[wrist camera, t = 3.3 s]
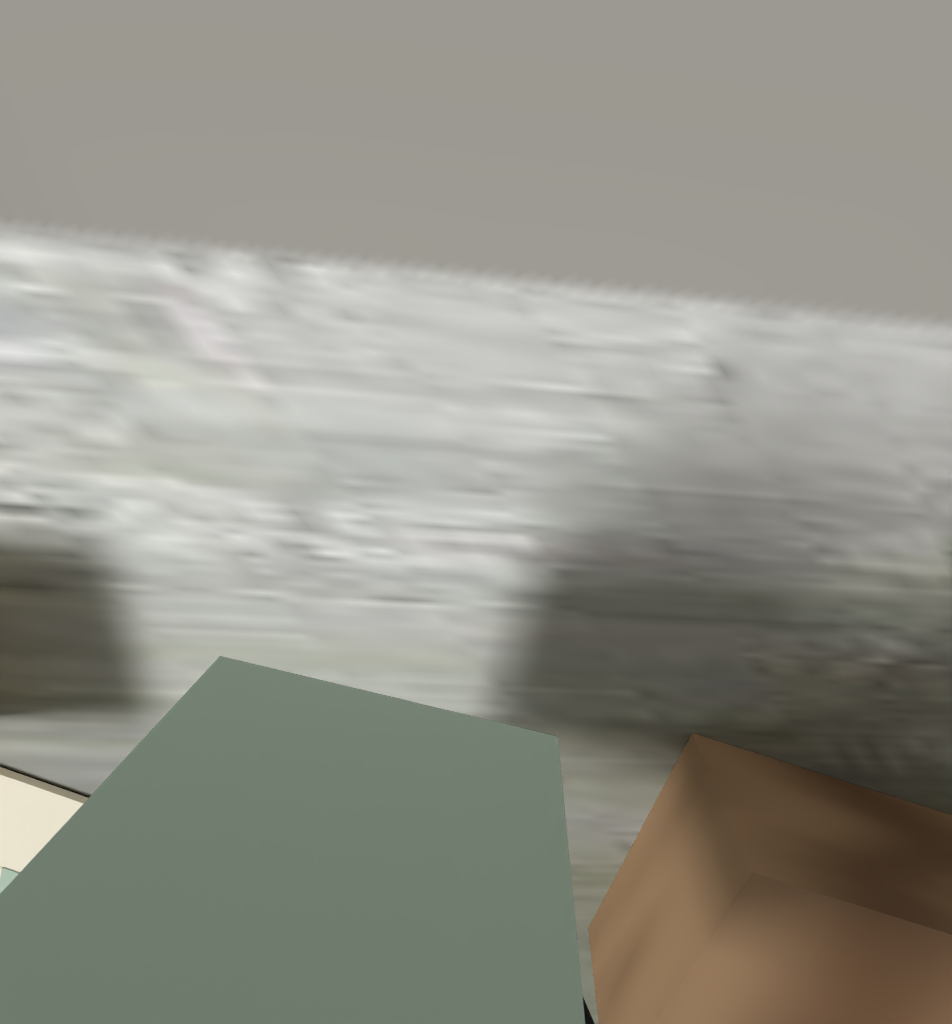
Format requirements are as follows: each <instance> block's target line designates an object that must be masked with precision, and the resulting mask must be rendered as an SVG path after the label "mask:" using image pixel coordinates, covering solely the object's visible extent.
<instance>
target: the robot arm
mask: <svg viewBox="0 0 952 1024" xmlns="http://www.w3.org/2000/svg"><path fill="white" fill-rule="evenodd" d="M583 1006H584V1016H585V1024H594V1022H593V1019H592V1017H591V1014H590V1012H589V1010H588V1007H587V1005H586V1003H585V1000H584V998H583Z"/></svg>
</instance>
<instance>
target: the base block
mask: <svg viewBox="0 0 952 1024" xmlns="http://www.w3.org/2000/svg"><path fill="white" fill-rule="evenodd" d="M588 931H589V940H590V949H591V958H592V966H593V975H594V984H595V993H596V1001H597V1010H598V1019H599V1024H952V815H950V814H946V813H943V812H940V811H937V810H934V809H931V808H927V807H924V806H921V805H918V804H915V803H912V802H909V801H905V800H902V799H899V798H896V797H893V796H890V795H886V794H883V793H880V792H877V791H874V790H871V789H868V788H864V787H861V786H858V785H855V784H852V783H849V782H845V781H842V780H839V779H836V778H833V777H830V776H827V775H823V774H820V773H817V772H814V771H811V770H808V769H805V768H801V767H798V766H795V765H792V764H789V763H786V762H782V761H779V760H776V759H773V758H770V757H767V756H764V755H760V754H757V753H754V752H751V751H748V750H745V749H741V748H738V747H735V746H732V745H729V744H726V743H723V742H719V741H716V740H713V739H710V738H707V737H704V736H700V735H697V734H694V733H692V734H691V736H690V738H689V740H688V742H687V743H686V745H685V747H684V749H683V751H682V753H681V755H680V757H679V759H678V760H677V762H676V764H675V766H674V768H673V770H672V772H671V774H670V775H669V777H668V779H667V781H666V783H665V785H664V787H663V789H662V791H661V792H660V794H659V796H658V798H657V800H656V802H655V804H654V806H653V807H652V809H651V811H650V813H649V815H648V817H647V819H646V821H645V822H644V824H643V826H642V828H641V830H640V832H639V834H638V836H637V838H636V839H635V841H634V843H633V845H632V847H631V849H630V851H629V853H628V854H627V856H626V858H625V860H624V862H623V864H622V866H621V868H620V870H619V871H618V873H617V875H616V877H615V879H614V881H613V883H612V885H611V886H610V888H609V890H608V892H607V894H606V896H605V898H604V900H603V901H602V903H601V905H600V907H599V909H598V911H597V913H596V915H595V917H594V918H593V920H592V922H591V924H590V926H589V928H588Z"/></svg>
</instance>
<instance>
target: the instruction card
mask: <svg viewBox="0 0 952 1024" xmlns="http://www.w3.org/2000/svg"><path fill="white" fill-rule="evenodd" d="M87 799H88V798H87V797H85V796H82V795H79V794H76V793H73V792H70V791H67V790H65V789H62V788H59V787H56V786H53V785H50V784H47V783H45V782H42V781H39V780H36V779H33V778H30V777H27V776H25V775H22V774H19V773H16V772H13V771H10V770H8V769H5V768H2V767H0V893H1V892H2V891H3V890H4V889H5V888H6V887H7V886H8V885H9V884H10V883H11V882H12V881H13V879H14V878H15V877H16V876H17V875H18V874H19V873H20V872H21V871H22V870H23V869H24V868H25V866H26V865H27V864H28V863H29V862H30V861H31V860H32V859H33V858H34V857H35V856H36V855H37V853H38V852H39V851H40V850H41V849H42V848H43V847H44V846H45V845H46V844H47V843H48V842H49V841H50V839H51V838H52V837H53V836H54V835H55V834H56V833H57V832H58V831H59V830H60V829H61V828H62V826H63V825H64V824H65V823H66V822H67V821H68V820H69V819H70V818H71V817H72V816H73V815H74V814H75V812H76V811H77V810H78V809H79V808H80V807H81V806H82V805H83V804H84V803H85V802H86V801H87Z"/></svg>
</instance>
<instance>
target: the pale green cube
mask: <svg viewBox="0 0 952 1024" xmlns="http://www.w3.org/2000/svg"><path fill="white" fill-rule="evenodd" d="M0 1024H585V1016H584V1006H583V995H582V985H581V974H580V964H579V953H578V943H577V932H576V922H575V911H574V901H573V890H572V880H571V870H570V859H569V849H568V838H567V828H566V817H565V807H564V796H563V786H562V775H561V765H560V754H559V744H558V736H554V735H549V734H545V733H541V732H537V731H533V730H528V729H524V728H520V727H516V726H512V725H507V724H503V723H499V722H495V721H491V720H486V719H482V718H478V717H474V716H470V715H465V714H461V713H457V712H453V711H449V710H444V709H440V708H436V707H432V706H428V705H423V704H419V703H415V702H411V701H407V700H402V699H398V698H394V697H390V696H386V695H381V694H377V693H373V692H369V691H365V690H360V689H356V688H352V687H348V686H344V685H339V684H335V683H331V682H327V681H323V680H318V679H314V678H310V677H306V676H302V675H298V674H293V673H289V672H285V671H281V670H277V669H272V668H268V667H264V666H260V665H256V664H251V663H247V662H243V661H239V660H235V659H230V658H226V657H222V656H220V657H219V658H218V659H217V660H216V661H215V662H214V663H213V664H212V665H211V667H210V668H209V669H208V670H207V671H206V672H205V673H204V674H203V675H202V676H201V677H200V678H199V679H198V681H197V682H196V683H195V684H194V685H193V686H192V687H191V688H190V689H189V690H188V691H187V692H186V694H185V695H184V696H183V697H182V698H181V699H180V700H179V701H178V702H177V703H176V704H175V705H174V707H173V708H172V709H171V710H170V711H169V712H168V713H167V714H166V715H165V716H164V717H163V718H162V719H161V721H160V722H159V723H158V724H157V725H156V726H155V727H154V728H153V729H152V730H151V731H150V732H149V734H148V735H147V736H146V737H145V738H144V739H143V740H142V741H141V742H140V743H139V744H138V745H137V746H136V748H135V749H134V750H133V751H132V752H131V753H130V754H129V755H128V756H127V757H126V758H125V759H124V761H123V762H122V763H121V764H120V765H119V766H118V767H117V768H116V769H115V770H114V771H113V772H112V774H111V775H110V776H109V777H108V778H107V779H106V780H105V781H104V782H103V783H102V784H101V785H100V786H99V788H98V789H97V790H96V791H95V792H94V793H93V794H92V795H91V796H90V797H89V798H88V799H87V801H86V802H85V803H84V804H83V805H82V806H81V807H80V808H79V809H78V810H77V811H76V812H75V814H74V815H73V816H72V817H71V818H70V819H69V820H68V821H67V822H66V823H65V824H64V825H63V826H62V828H61V829H60V830H59V831H58V832H57V833H56V834H55V835H54V836H53V837H52V838H51V839H50V841H49V842H48V843H47V844H46V845H45V846H44V847H43V848H42V849H41V850H40V851H39V852H38V853H37V855H36V856H35V857H34V858H33V859H32V860H31V861H30V862H29V863H28V864H27V865H26V866H25V868H24V869H23V870H22V871H21V872H20V873H19V874H18V875H17V876H16V877H15V878H14V879H13V881H12V882H11V883H10V884H9V885H8V886H7V887H6V888H5V889H4V890H3V891H2V892H1V893H0Z"/></svg>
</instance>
